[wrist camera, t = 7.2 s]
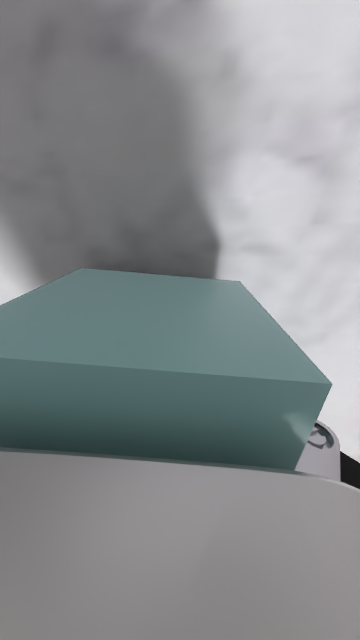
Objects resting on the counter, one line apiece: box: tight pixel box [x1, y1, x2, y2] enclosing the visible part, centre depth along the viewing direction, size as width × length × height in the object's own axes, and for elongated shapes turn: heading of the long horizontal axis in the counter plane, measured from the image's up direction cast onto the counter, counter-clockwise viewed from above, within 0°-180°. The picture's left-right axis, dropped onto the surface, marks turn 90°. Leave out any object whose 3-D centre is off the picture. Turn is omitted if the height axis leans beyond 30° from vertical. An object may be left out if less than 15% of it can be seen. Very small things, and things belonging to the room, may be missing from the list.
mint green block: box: [0, 268, 332, 471], centre depth 9 cm, size 8×8×8 cm
